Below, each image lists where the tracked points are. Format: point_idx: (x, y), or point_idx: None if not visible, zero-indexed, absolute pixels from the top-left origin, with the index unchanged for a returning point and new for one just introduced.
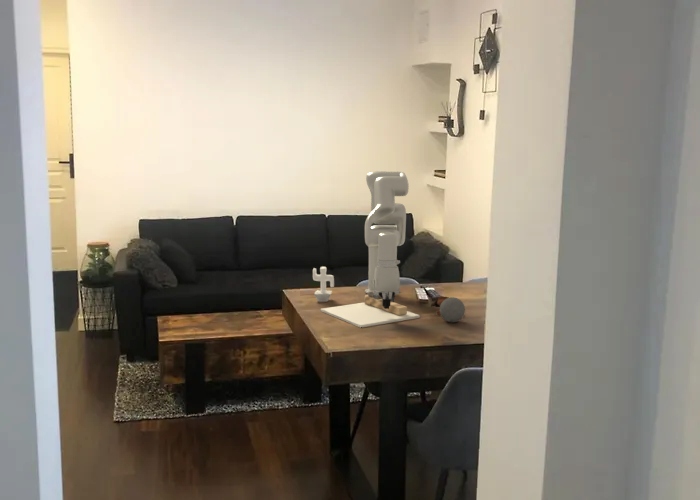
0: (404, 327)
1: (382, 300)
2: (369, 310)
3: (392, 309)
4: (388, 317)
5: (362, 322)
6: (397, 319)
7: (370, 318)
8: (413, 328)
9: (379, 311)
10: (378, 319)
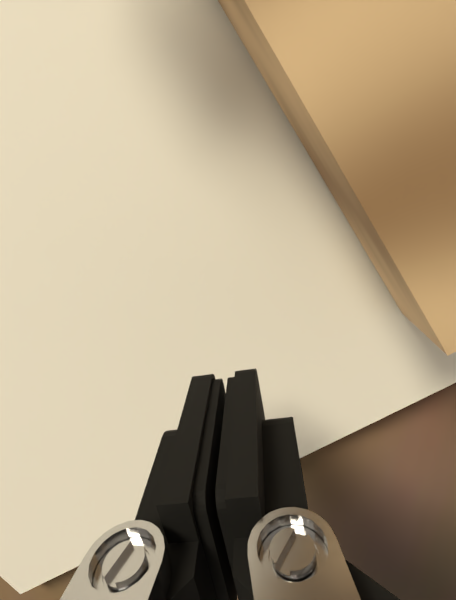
0: (383, 573)
1: (144, 506)
2: (4, 19)
3: (344, 199)
4: (265, 375)
5: (22, 532)
6: (356, 427)
7: (75, 414)
8: (453, 596)
9: (154, 76)
10: (158, 446)
